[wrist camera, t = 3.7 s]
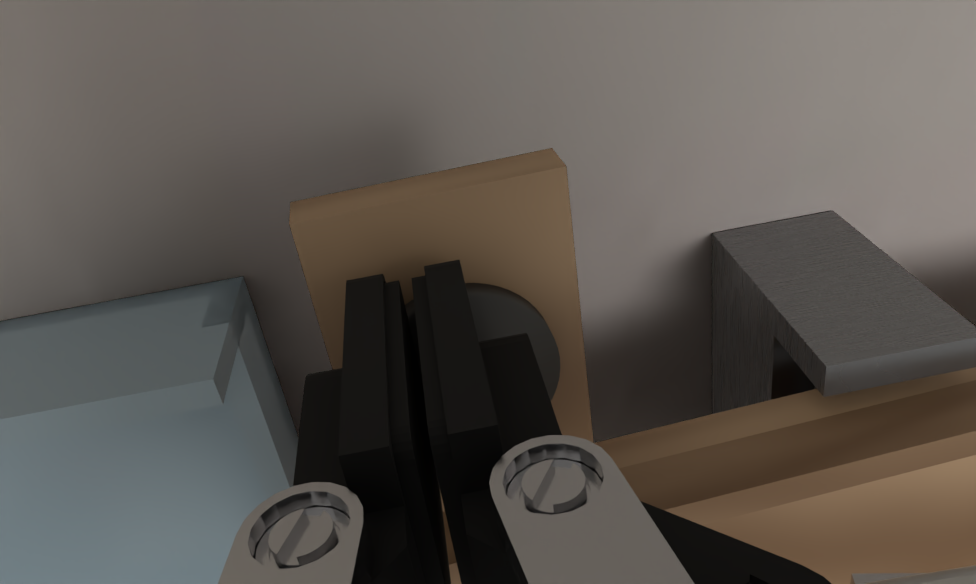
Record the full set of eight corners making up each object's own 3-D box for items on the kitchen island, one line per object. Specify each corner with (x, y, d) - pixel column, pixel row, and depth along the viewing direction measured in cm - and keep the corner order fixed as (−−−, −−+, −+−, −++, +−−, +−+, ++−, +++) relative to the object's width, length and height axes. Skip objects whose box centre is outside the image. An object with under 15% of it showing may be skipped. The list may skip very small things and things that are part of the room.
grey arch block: (712, 233, 19) (826, 366, 14) (833, 210, 19) (986, 335, 15) (712, 509, 24) (798, 680, 19) (809, 490, 24) (919, 654, 19)
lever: (165, 201, 13) (112, 330, 9) (1475, -66, 15) (1815, -40, 11) (354, 698, 19) (362, 878, 16) (1239, 461, 21) (1411, 576, 18)
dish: (-367, 389, 18) (-546, 522, 14) (243, 276, 18) (213, 379, 15) (-100, 700, 24) (-180, 848, 20) (357, 608, 24) (354, 737, 21)
